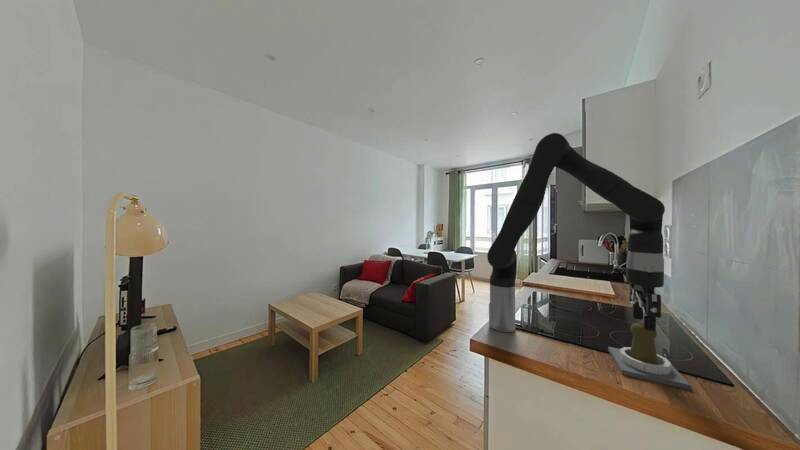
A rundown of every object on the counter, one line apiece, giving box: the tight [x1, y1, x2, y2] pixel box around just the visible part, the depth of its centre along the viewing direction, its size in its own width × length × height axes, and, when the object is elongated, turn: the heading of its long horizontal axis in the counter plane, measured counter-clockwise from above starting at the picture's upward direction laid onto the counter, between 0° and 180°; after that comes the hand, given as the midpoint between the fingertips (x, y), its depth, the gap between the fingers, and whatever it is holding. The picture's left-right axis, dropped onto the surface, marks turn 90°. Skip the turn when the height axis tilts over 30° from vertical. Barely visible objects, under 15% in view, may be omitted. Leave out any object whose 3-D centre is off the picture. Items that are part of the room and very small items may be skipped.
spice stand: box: [607, 346, 692, 391], centre depth 69 cm, size 13×14×3 cm
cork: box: [630, 322, 658, 365], centre depth 69 cm, size 6×6×11 cm
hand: (643, 324), depth 69 cm, fingers open, 8 cm apart
